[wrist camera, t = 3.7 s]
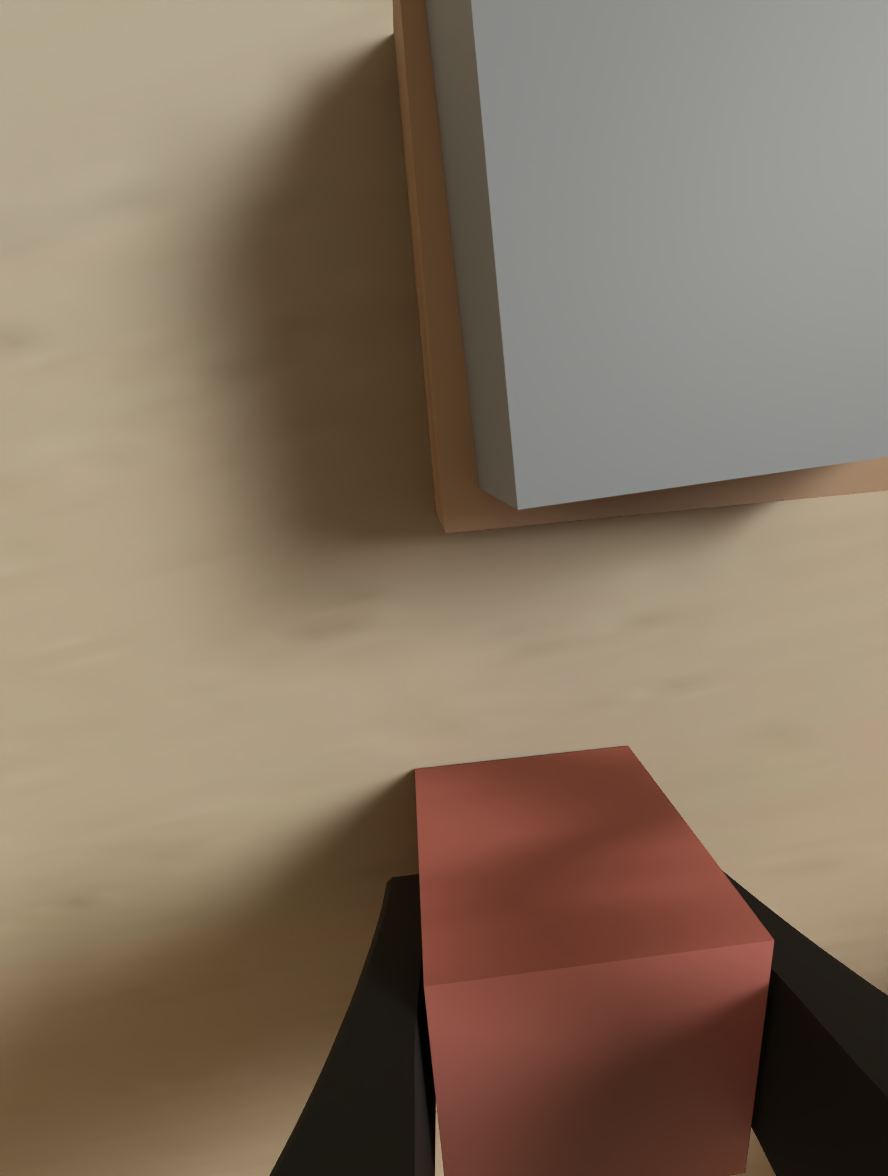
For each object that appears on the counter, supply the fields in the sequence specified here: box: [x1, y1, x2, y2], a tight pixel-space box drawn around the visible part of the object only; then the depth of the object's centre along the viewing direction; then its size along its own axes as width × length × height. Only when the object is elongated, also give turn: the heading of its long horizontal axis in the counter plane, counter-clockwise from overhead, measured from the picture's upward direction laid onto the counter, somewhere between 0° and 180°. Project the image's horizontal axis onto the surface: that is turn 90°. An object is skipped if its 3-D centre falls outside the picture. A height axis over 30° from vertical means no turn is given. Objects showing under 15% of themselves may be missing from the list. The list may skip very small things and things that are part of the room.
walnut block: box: [393, 0, 888, 533], centre depth 8 cm, size 7×7×2 cm
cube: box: [415, 746, 774, 1176], centre depth 9 cm, size 4×4×4 cm
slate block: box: [425, 0, 888, 510], centre depth 5 cm, size 6×6×2 cm
